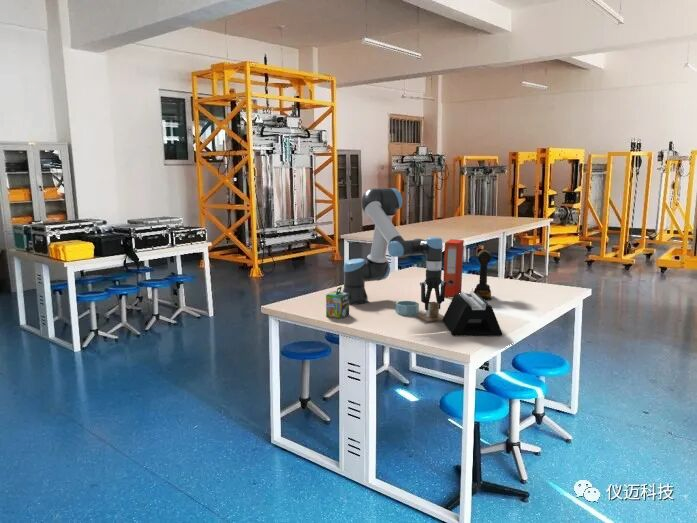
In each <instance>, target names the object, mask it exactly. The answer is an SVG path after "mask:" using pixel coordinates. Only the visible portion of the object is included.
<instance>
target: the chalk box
mask: <svg viewBox="0 0 697 523" xmlns="http://www.w3.org/2000/svg"><path fill="white" fill-rule="evenodd" d="M336 288H337V289H336V290H333V291H330V292H329V293H327V294H326V295H325V305H326V306H325V312H326V314H325V317H329V318H335V319H336V318H338V319H341V318H342V319H343V318H345V317H347V316H350V304H349V294H350V293H346V292H343V291H342V288H343V287H342V286H339V287H336Z"/></svg>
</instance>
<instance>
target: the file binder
mask: <svg viewBox="0 0 697 523" xmlns="http://www.w3.org/2000/svg"><path fill="white" fill-rule="evenodd" d="M464 241H465V240H464V239H452V238H451V239H449V240H447V241H446V242H444V257H443V260H444V261H443V280H442V281H445V282H447V284H446V286H445V298H448V297H454V295H455V294H459V293H460V292H461V291H462V285H463V284H462V283H463V282H462V280H463V266H464V265H463V263H464V261H463V260H464V245H465V244H464ZM460 294H461V293H460ZM460 294H459V295H460Z"/></svg>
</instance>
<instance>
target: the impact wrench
mask: <svg viewBox="0 0 697 523" xmlns="http://www.w3.org/2000/svg"><path fill="white" fill-rule="evenodd" d="M477 259H478V262H479V264H480V267H479V280H478V281H479V283H478V284H476V286H475V287H474V290H472V292H474V293H475V294H478V295H479V296H480V297H482V298H483V299H490V300H491V299H492V290H491V287H490V285H489V284H488V264H489V263H490V262H491V261H492V253H491V252H490V251H489V250H487V249H482V250H480V251H479V252H477Z"/></svg>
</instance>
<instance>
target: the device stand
mask: <svg viewBox="0 0 697 523" xmlns="http://www.w3.org/2000/svg"><path fill="white" fill-rule="evenodd" d="M469 295H471V296H468V295H467V294H466V293H465V291H462V290H461V293H460V294H455V295H454V297H453V298H451V301H450V303H449V305H448V307H447V310H446V312H445V314H444V315H443V316H444V317H443V319H442V320H443V322H444V323H443V324H444V325H445V326H446V328H447V329H448V331H449V332H450V334H451V335H452V336H453V337H502V336H503V332H502V329H501V327H500V324H499V321H498V318H497V316H496V314H495V312H494V309H493V306H492V305H490V304H489V303H488V302H487V300H484V299H483V298H482V297H480V296H479V295H478V294H475V293H474V292H473V290H471V291H470V292H469Z"/></svg>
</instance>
